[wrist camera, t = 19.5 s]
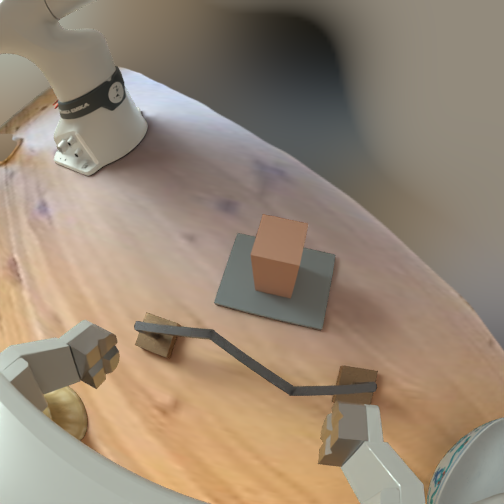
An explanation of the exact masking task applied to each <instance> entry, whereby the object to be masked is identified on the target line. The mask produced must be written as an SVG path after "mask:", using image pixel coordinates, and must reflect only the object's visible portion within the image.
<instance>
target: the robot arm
mask: <svg viewBox="0 0 504 504" xmlns="http://www.w3.org/2000/svg"><path fill="white" fill-rule="evenodd" d="M95 1H97V0H0V54H6V53H7V54H16V55H19V56H22V57H25V58H27V59H28V60H30V61H32V62H33V63H34V64H36V66H37V67H38V68H40V70H41V71H42V72H43V74H44V76H45V77H46V79H47V80H48V82H49V84H50V85H51V87H52V89H53V91H54V92H55V94H56V96H57V98H58V100H57V101H56V102H55V103H54V104H53V105H55V104H56V103H57V102H58V104H57V105H56V107H55V109H56V108H57V107H59V112H60V116H61V118H60V120H59V123H58V125H57V128H56V130H55V133H54V140H55V142H56V144H57V149H58V150H57V152H56V154H55V157H54V161H55V163H57V164H59V165H62V166H64V167H67V168H69V169H72V170H74V171H77V172H79V173H82V174H84V175H87V176H89V175H92V174H93V173H95V172H96V171H98V170H99V169H100V168H101V167H103V166H105V165H107V164H109V163H111V162H113V161H116V160H117V159H119V158H121V157H123V156H124V155H126V154H127V153H128V152H130V151H131V150H132V149H133V148H135V147H136V146H137V145H138V144H139V142H140V141H141V140H142V139H143V137H144V136H145V134H146V131H147V127H148V125H147V122H146V120H145V119H144V118H143V117H142V115H141V111H140V109H139V107H136V105H135V103H134V102H133V100H132V98H131V96H130V94H129V92H128V91H127V89H126V87H125V86H124V80H123V78H122V74H121V72H120V70H119V68H118V67H117V66H115V64H114V61H113V59H112V56H111V53H110V50H109V48H108V45H107V42H106V39H105V36H104V35H103V34H102V33H101V32H99V31H97V30H94V29H77V30H67V29H64V28H62V26H61V25H60V24H59V22H58V21H59V20H60V19H61V18H63V17H65V16H66V15H68V14H70V13H72V12H74V11H76V10H78V9H80V8H82V7H84V6H86V5H88V4H90V3H93V2H95ZM116 344H117V338H116V335H114V334H113V333H111V332H109V331H107V330H105V329H103V328H101V327H99V326H97V325H95V324H93V323H91V322H89V321H87V320H83V321H81V322H80V323H78V324H77V325H76V326H74V327H73V328H72V329H70V330H69V331H68V332H67V333H65V334H64V335H63V336H61V337H60V338H59V339H58V338H50V339H45V340H40V341H34V342H29V343H23V344H17V345H11V346H9V347H8V348H7V349H5V350H4V351H3V352H1V353H0V504H210V503H207V502H204V501H201V500H198V499H195V498H192V497H189V496H186V495H183V494H181V493H178V492H176V491H173V490H171V489H168V488H166V487H163V486H161V485H159V484H156V483H154V482H152V481H150V480H148V479H145V478H143V477H141V476H139V475H137V474H135V473H133V472H131V471H129V470H127V469H126V468H124V467H122V466H120V465H118V464H116V463H115V462H113V461H111V460H109V459H108V458H106V457H104V456H103V455H101V454H99V453H98V452H96V451H94V450H93V449H91V448H90V447H88V446H87V445H85V444H84V443H82V442H81V441H79V440H78V439H76V438H75V437H74V436H72V435H71V434H69V433H68V432H67V431H65V430H64V429H63V428H61V427H60V426H59V425H57V424H56V423H55V422H54V421H52V420H51V419H50V418H49V417H47V416H46V415H45V414H44V413H43V411H44V410H45V409H46V408H47V407H48V403H47V401H46V399H45V397H44V394H47V393H50V392H52V391H55V390H58V389H61V388H63V387H66V386H69V385H71V384H74V383H77V382H79V381H80V380H81V381H83V382H85V383H87V384H88V385H90V386H92V387H94V388H95V389H97V388H98V387H99V386H100V385H101V384H102V383H103V382H104V381H105V379H106V374H108V373H111V372H113V371H114V370H115V369H116V367H117V365H118V363H119V357H120V355H119V351H118V349H117V348H116V346H115V345H116ZM320 439H321V440H322V442H323V444H322V446H321V447H320V449H319V459H318V464H322V465H330V466H339V467H341V469H342V471H343V473H344V475H345V476H346V478H347V480H348V482H349V484H350V486H351V487H352V489H353V491H354V493H355V495H356V496H357V498H358V500H359V502H360V504H425V496H424V486H423V484H422V482H421V481H420V480H419V479H418V478H417V477H416V475H415V474H414V473H413V472H412V471H411V470H410V468H409V467H408V466H407V465H406V464H405V463H404V461H403V460H402V459H401V458H400V457H399V456H398V454H397V453H396V452H395V451H394V450H393V449H392V447H391V446H390V445H389V444H388V443H387V442H383V433H382V425H381V417H380V410H379V407H378V405H367V404H359V403H350V402H342V401H336V402H335V403H334V405H333V406H332V413H331V414H328V415H327V417H326V419H325V420H324V423H323V426H322V430H321V438H320ZM471 504H504V493H499V494H496V495H493V496H490V497H488V498H485V499H483V500H480V501H477V502H474V503H471Z"/></svg>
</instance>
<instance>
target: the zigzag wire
mask: <svg viewBox="0 0 504 504" xmlns="http://www.w3.org/2000/svg"><path fill="white" fill-rule="evenodd" d="M180 326H181V325H179V324H178V323H175V322H172V321H169V320H166V319H163V318H161V317H158V316H155V315H152V314H149V313H146V315H145V318H144V321H143V322H140V321H136V323H135V325H134V328H135V330H136V331H138V332H139V335H138V338H137V341H136V344H135V345H136V346H139V347H141V348H143V349H146V350H148V351H151V352H153V353H156V354H158V355H161V356H163V357H166V358H170V356H171V353H172V350H173V347H174V344H175V341H176V338H177V336H180V337H189V338H199V339H209V340H212V341H213V342H214V343H216V344H217V345H218V346H220V347H221V348H222V349H224V350H225V351H226V352H228V353H229V354H231V355H232V356H233V357H235V358H236V359H237V360H239V361H240V362H242V363H243V364H244V365H246V366H247V367H249V368H250V369H252V370H253V371H254V372H256V373H257V374H259V375H260V376H262V377H263V378H265V379H266V380H268V381H269V382H271V383H272V384H274V385H275V386H277V387H278V388H280V389H281V390H283V391H284V392H286V393H288V394H289V396H312V395H333V399H332V402H334V403H335V402H336V401H342V402H350V403H359V404H367V405H370V404H371V400H372V395H373V392H375V391H376V389H377V384H376V383H375V382H376V377H377V372H378V371H374V370H367V369H361V368H355V367H349V366H340V370H339V375H338V379H337V383H336V385H334V386H293V385H291V384H289V383H288V382H286V381H285V380H283V379H282V378H280V377H279V376H277V375H276V374H274V373H273V372H271V371H270V370H268V369H267V368H265V367H264V366H262V365H261V364H259V363H258V362H256V361H255V360H254V359H252V358H251V357H249V356H248V355H246V354H245V353H244V352H242V351H241V350H239V349H238V348H237V347H235V346H234V345H232V344H231V343H230V342H228V341H227V340H226V339H224V338H223V337H222V336H220V335H219V334H218V333H216V332H215V331H214V330H211V329H199V328H189V327H180Z"/></svg>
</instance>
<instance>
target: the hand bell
mask: <svg viewBox="0 0 504 504" xmlns="http://www.w3.org/2000/svg"><path fill="white" fill-rule="evenodd" d="M44 397H45V399H46V401H47V403H48V407H47V408H46V409H45V410H44V411H43V413H44V414H45V415H46V416H47V417H49V418H50V419H51V420H52V421H54V422H55V423H56V424H57V425H59V426H60V427H61V428H63V429H64V430H65V431H67V432H68V433H69V434H71V435H72V436H74V437H75V438H76V439H78V440H79V441H80V440H81V439H82V438H83V437H84V436H85V434H86V430H87V414H86V410H85V408H84V405H83V403H82V401H81V399H80V398H79V396H78V395H77V394H76V393H75V392H74V391H73V390H72V389H71V388H70V387H68V386H66V387H63V388H61V389H58V390H55V391H52V392H50V393H47V394H44Z"/></svg>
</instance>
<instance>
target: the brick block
mask: <svg viewBox="0 0 504 504" xmlns="http://www.w3.org/2000/svg"><path fill="white" fill-rule="evenodd" d="M307 228H308V223H303V222H298V221H294V220H289V219H284V218H280V217H275V216H270V215H265V214H263V215H262V219H261V222H260V225H259V229H258V232H257V235H256V238H255V242H254V245H253V248H252V251H251V262H252V270H253V278H254V285H255V290H256V291H260V292H265V293H269V294H273V295H277V296H282V297H286V298H290V299H291V296H292V292H293V289H294V285H295V281H296V278H297V274H298V270H299V266H300V262H301V257H302V252H303V248H304V243H305V238H306V233H307Z"/></svg>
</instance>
